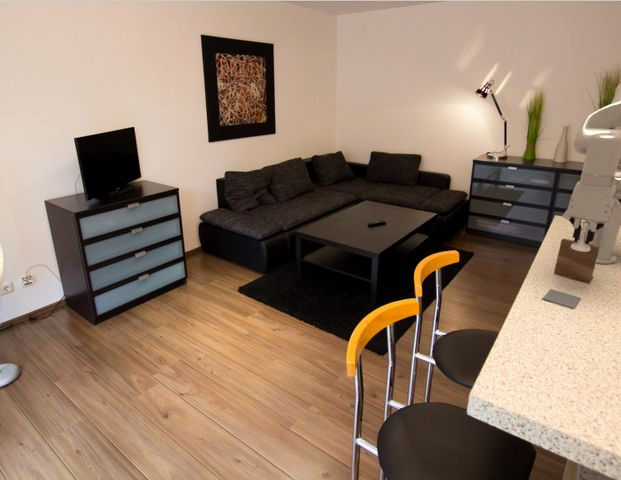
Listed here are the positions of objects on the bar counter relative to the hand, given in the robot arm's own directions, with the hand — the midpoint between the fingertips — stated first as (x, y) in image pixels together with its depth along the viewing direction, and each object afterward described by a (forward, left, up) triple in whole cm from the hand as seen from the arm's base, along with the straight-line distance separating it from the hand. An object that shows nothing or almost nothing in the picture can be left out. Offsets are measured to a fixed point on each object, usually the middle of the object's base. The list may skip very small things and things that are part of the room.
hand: (582, 241), depth 119 cm
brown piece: (-10, -2, -15) cm, 18 cm away
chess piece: (0, 0, -2) cm, 2 cm away
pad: (+10, 0, -15) cm, 18 cm away
